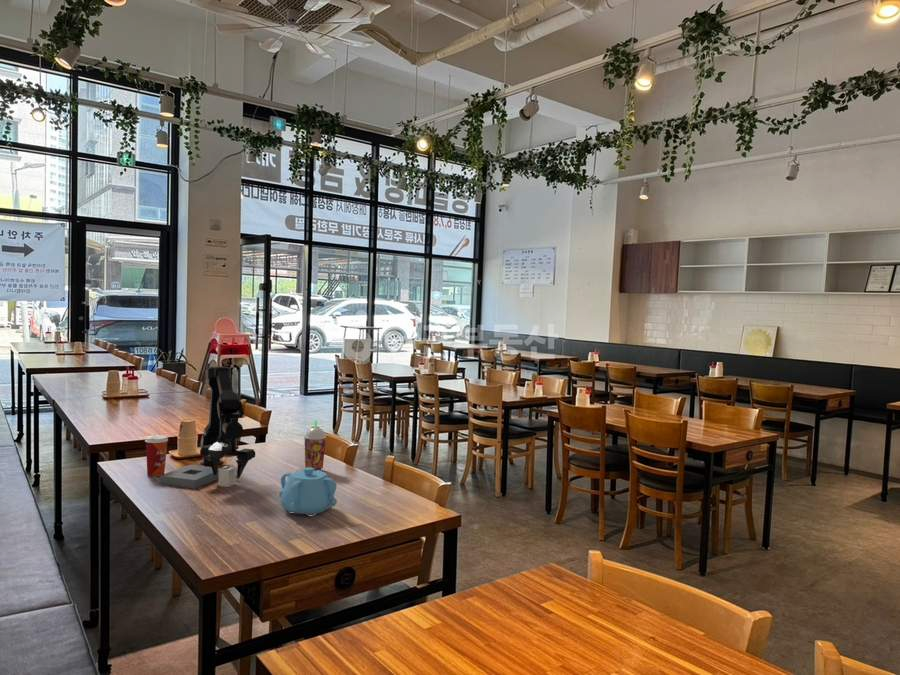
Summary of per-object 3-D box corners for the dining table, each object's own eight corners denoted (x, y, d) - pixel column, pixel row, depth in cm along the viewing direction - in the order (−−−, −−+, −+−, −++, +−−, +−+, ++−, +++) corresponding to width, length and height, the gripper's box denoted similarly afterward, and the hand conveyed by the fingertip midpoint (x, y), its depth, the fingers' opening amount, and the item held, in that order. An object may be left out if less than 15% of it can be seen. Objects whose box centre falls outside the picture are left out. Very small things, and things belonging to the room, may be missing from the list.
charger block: (225, 482, 217) (225, 465, 217) (235, 483, 216) (235, 466, 216) (218, 485, 213) (218, 468, 213) (228, 487, 212) (229, 469, 212)
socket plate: (189, 472, 227) (189, 464, 227) (222, 476, 224) (222, 468, 224) (159, 484, 212) (160, 475, 211) (195, 488, 208) (195, 480, 208)
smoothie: (301, 468, 239) (303, 418, 238) (322, 467, 243) (324, 418, 242) (305, 474, 232) (307, 422, 231) (327, 473, 235) (329, 422, 234)
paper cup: (161, 478, 218) (162, 439, 218) (140, 477, 218) (141, 438, 218) (171, 472, 226) (172, 435, 226) (150, 471, 226) (151, 434, 226)
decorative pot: (328, 500, 203) (329, 460, 203) (338, 516, 188) (339, 473, 188) (278, 504, 197) (279, 463, 196) (284, 521, 182) (285, 476, 181)
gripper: (190, 434, 208) (189, 479, 209) (239, 439, 204) (237, 485, 205) (210, 428, 219) (209, 471, 220) (256, 433, 215) (255, 477, 216)
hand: (226, 476), depth 215 cm, fingers open, 9 cm apart
